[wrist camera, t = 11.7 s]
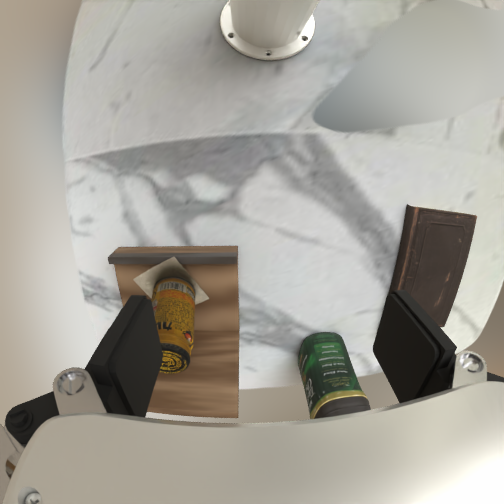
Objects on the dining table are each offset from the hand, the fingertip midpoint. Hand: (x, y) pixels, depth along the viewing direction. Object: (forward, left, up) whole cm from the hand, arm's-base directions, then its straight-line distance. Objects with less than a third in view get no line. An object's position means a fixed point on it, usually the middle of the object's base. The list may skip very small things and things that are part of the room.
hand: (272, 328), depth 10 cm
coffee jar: (+27, +12, -28) cm, 41 cm away
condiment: (+12, -11, -25) cm, 30 cm away
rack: (+14, -11, -28) cm, 33 cm away
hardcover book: (+12, +31, -29) cm, 44 cm away
